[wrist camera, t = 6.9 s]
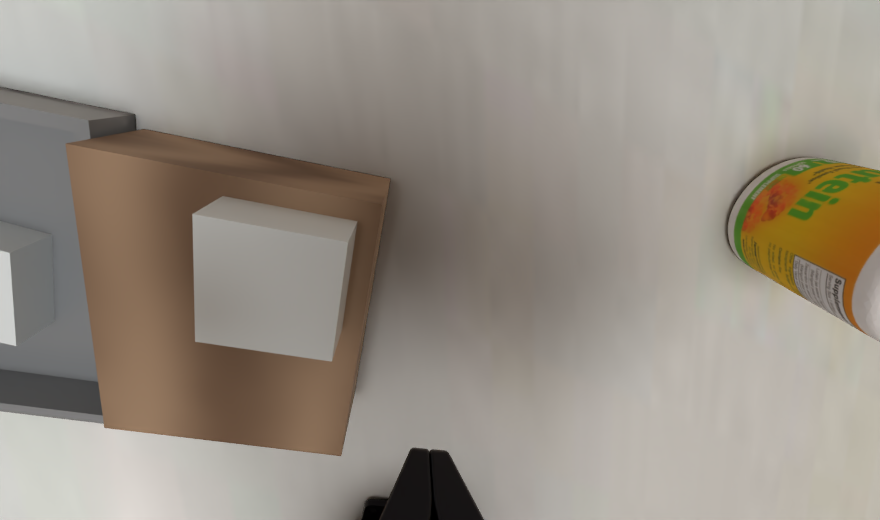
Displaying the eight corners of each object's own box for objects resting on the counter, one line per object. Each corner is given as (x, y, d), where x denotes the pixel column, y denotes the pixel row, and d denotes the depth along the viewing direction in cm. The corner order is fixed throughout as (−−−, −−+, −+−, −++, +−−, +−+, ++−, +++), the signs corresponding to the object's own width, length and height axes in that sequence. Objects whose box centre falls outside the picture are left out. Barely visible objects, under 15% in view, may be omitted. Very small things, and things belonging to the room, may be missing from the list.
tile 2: (357, 221, 14) (348, 242, 13) (342, 329, 16) (331, 361, 14) (222, 196, 14) (192, 213, 12) (221, 310, 16) (195, 341, 14)
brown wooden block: (390, 178, 18) (382, 204, 14) (354, 394, 22) (341, 456, 19) (143, 128, 17) (65, 143, 13) (158, 367, 21) (104, 427, 18)
